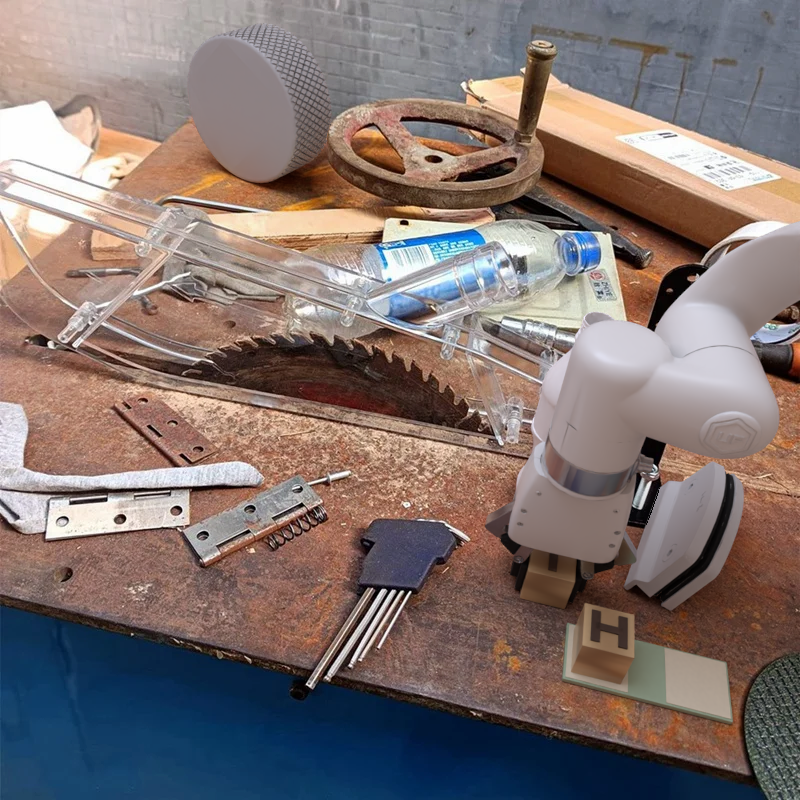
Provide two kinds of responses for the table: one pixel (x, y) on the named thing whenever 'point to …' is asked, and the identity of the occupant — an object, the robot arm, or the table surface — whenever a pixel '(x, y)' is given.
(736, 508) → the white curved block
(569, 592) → the tile
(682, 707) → the word board
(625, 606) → the table surface
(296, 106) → the knob
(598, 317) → the water bottle
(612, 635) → the tile
